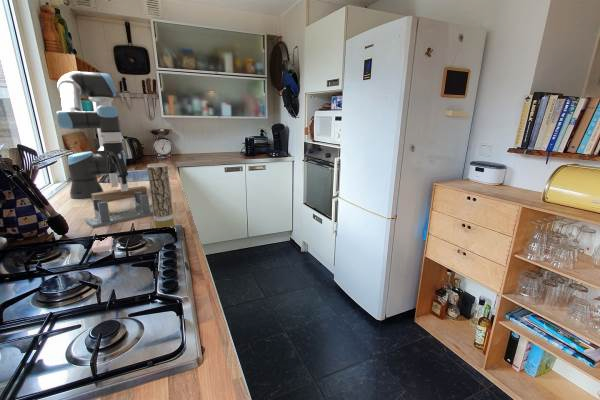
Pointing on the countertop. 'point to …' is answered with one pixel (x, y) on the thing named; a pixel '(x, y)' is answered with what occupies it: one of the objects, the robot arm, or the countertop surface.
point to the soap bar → (102, 245)
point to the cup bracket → (105, 218)
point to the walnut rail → (118, 194)
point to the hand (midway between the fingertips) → (119, 188)
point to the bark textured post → (160, 195)
